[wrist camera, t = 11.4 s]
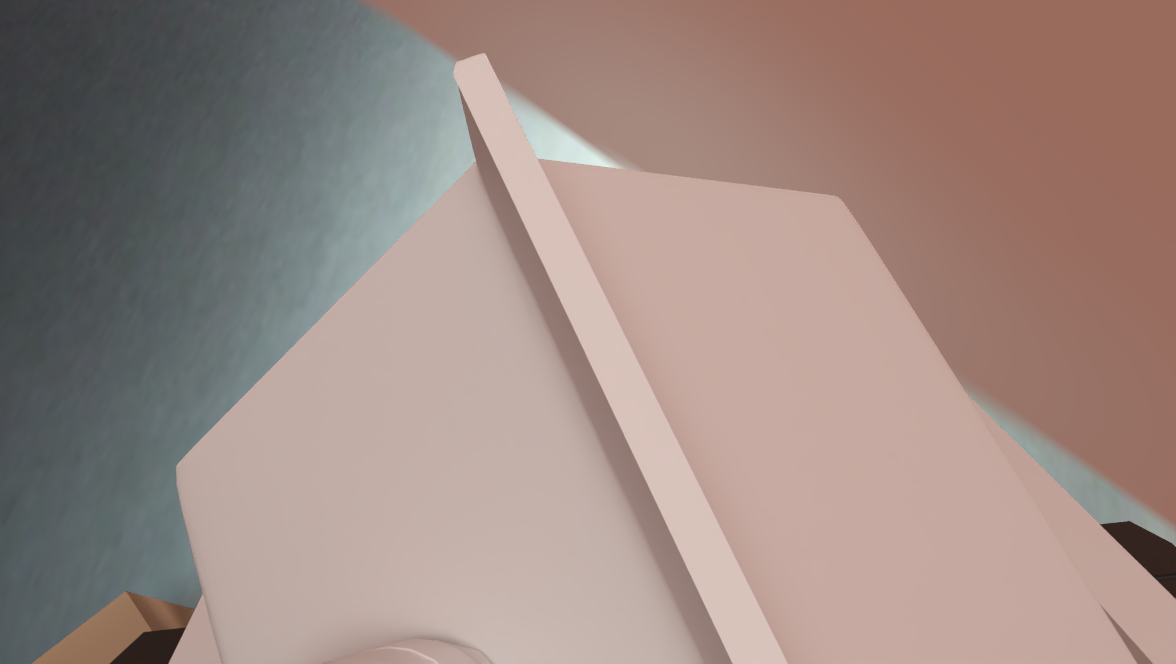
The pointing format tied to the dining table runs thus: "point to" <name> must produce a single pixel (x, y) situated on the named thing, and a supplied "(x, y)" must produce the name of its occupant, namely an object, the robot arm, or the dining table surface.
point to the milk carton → (622, 447)
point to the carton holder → (116, 630)
